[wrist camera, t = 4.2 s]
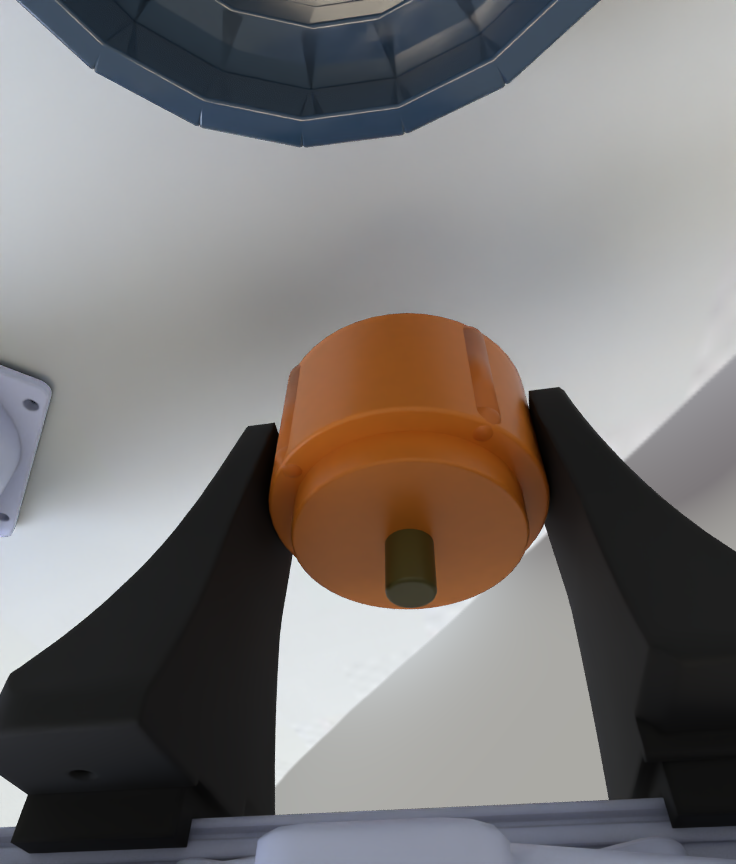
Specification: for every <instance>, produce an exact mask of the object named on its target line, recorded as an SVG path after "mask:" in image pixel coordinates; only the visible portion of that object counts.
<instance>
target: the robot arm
mask: <svg viewBox="0 0 736 864" xmlns="http://www.w3.org/2000/svg"><path fill="white" fill-rule="evenodd" d="M51 396H52V391H51V389H50V387H49V386H48V385H47V384H46V383H45V382H43V381H41V380H39V379H36V378H34V377H31V376H28V375H26V374H23V373H20V372H18V371H15V370H12V369H10V368H7V367H5V366H2V365H0V537H8V536H10V535H11V534H12V532H13V531H14V529H15V526H16V522H17V519H18V515H19V512H20V508H21V504H22V501H23V497H24V494H25V490H26V486H27V483H28V479H29V476H30V472H31V468H32V465H33V461H34V458H35V454H36V450H37V447H38V443H39V439H40V436H41V432H42V429H43V425H44V421H45V418H46V414H47V411H48V407H49V403H50V400H51ZM30 400H33V401H34V402H36V403H37V404H35V403H33V402H31V401H30ZM529 411H530V415H531V419H532V423H533V426H534V430H535V434H536V438H537V442H538V445H539V449H540V453H541V457H542V461H543V464H544V468H545V472H546V476H547V480H548V484H549V490H550V502H549V509H548V514H547V517H546V520H545V522H544V524H545V527H546V530H547V533H548V536H549V539H550V542H551V545H552V548H553V552H554V555H555V557H556V561H557V564H558V567H559V570H560V573H561V576H562V579H563V582H564V586H565V589H566V592H567V595H568V599H569V603H570V606H571V610H572V614H573V619H574V624H575V628H576V632H577V637H578V642H579V647H580V652H581V656H582V661H583V666H584V671H585V676H586V681H587V686H588V691H589V696H590V701H591V706H592V711H593V716H594V722H595V727H596V732H597V737H598V742H599V747H600V753H601V758H602V764H603V770H604V775H605V780H606V786H607V792H608V797H609V800H600V801H599V800H598V801H576V802H554V803H533V804H512V805H511V804H510V805H489V806H488V805H487V806H467V807H466V806H465V807H443V808H421V809H398V810H376V811H355V812H334V813H333V812H332V813H311V814H310V813H309V814H287V815H275V726H276V697H277V674H278V657H279V640H280V630H281V622H282V614H283V608H284V602H285V596H286V590H287V584H288V578H289V573H290V567H291V561H292V553H291V552H290V551H289V550H288V549H287V548H286V546H285V545H284V544H283V542H282V541H281V539H280V538H279V536H278V534H277V532H276V530H275V528H274V526H273V523H272V520H271V516H270V513H269V502H268V498H269V490H270V483H271V477H272V472H273V466H274V460H275V454H276V449H277V443H278V437H279V433H278V431H277V428H276V425H275V423H270V424H262V425H254V426H248V427H247V428H246V430H245V431H244V432H243V434H242V435H241V437H240V438H239V440H238V441H237V443H236V444H235V446H234V447H233V449H232V451H231V452H230V454H229V455H228V457H227V458H226V460H225V461H224V463H223V464H222V466H221V467H220V469H219V470H218V472H217V473H216V475H215V476H214V478H213V479H212V480H211V482H210V483H209V485H208V486H207V488H206V489H205V490H204V492H203V493H202V495H201V496H200V498H199V499H198V500H197V502H196V503H195V504H194V506H193V507H192V508H191V510H190V511H189V512H188V513H187V515H186V516H185V517H184V519H183V520H182V521H181V523H180V524H179V525H178V526H177V528H176V529H175V530H174V531H173V533H172V534H171V535H170V536H169V537H168V539H167V540H166V541H165V542H164V543H163V544H162V546H161V547H160V548H159V549H158V550H157V551H156V552H155V553H154V554H153V555H152V557H151V558H150V559H149V560H148V561H147V562H146V563H145V564H144V565H143V566H142V567H141V568H140V569H139V570H138V571H137V572H136V573H135V574H134V575H133V576H132V577H131V578H130V579H129V580H128V581H127V582H125V583H124V584H123V585H122V586H121V587H120V588H119V589H118V590H117V591H116V592H115V593H114V594H113V595H112V596H111V597H110V598H109V599H107V600H106V601H105V602H104V603H103V604H102V605H101V606H99V607H98V608H97V609H96V610H95V611H94V612H92V613H91V614H90V615H89V616H88V617H86V618H85V619H84V620H83V621H82V622H80V623H79V624H78V625H77V626H75V627H74V628H73V629H72V630H70V631H69V632H68V633H66V634H65V635H64V636H63V637H61V638H60V639H59V640H57V641H56V642H55V643H53V644H52V645H50V646H49V647H48V648H46V649H45V650H43V651H42V652H41V653H39V654H38V655H36V656H35V657H34V658H32V659H31V660H29V661H28V662H27V663H25V664H24V665H22V666H21V667H20V668H18V669H17V670H15V671H14V672H12V673H11V674H10V675H9V677H8V679H7V681H6V683H5V685H4V687H3V690H2V692H1V694H0V775H1V776H2V777H3V778H5V779H6V780H8V781H9V782H11V783H12V784H13V785H15V786H16V787H18V788H19V789H21V790H22V791H24V792H25V793H26V794H28V796H27V799H26V801H25V804H24V807H23V809H22V812H21V815H20V818H19V820H18V823H17V826H16V827H0V864H736V551H734V550H732V549H731V548H729V547H728V546H726V545H725V544H723V543H722V542H720V541H719V540H717V539H716V538H714V537H713V536H711V535H710V534H708V533H707V532H705V531H704V530H703V529H701V528H700V527H699V526H697V525H696V524H695V523H693V522H692V521H691V520H689V519H688V518H687V517H685V516H684V515H683V514H681V513H680V512H679V511H678V510H677V509H675V508H674V507H673V506H672V505H670V504H669V503H668V502H667V501H666V500H664V499H663V498H662V497H661V496H660V495H658V494H657V493H656V492H655V491H654V490H653V489H652V488H651V487H649V486H648V485H647V484H646V483H645V482H644V481H643V480H642V479H641V478H640V477H639V476H638V475H637V474H636V473H635V472H634V471H632V470H631V469H630V468H629V467H628V466H627V465H626V464H625V463H624V462H623V461H622V460H621V459H620V458H619V456H618V455H617V454H616V453H615V452H614V451H613V450H612V449H611V448H610V447H609V446H608V445H607V444H606V442H605V441H604V440H603V439H602V438H601V437H600V436H599V435H598V434H597V432H596V431H595V430H594V429H593V428H592V427H591V425H590V424H589V423H588V422H587V420H586V419H585V418H584V417H583V416H582V414H581V413H580V412H579V411H578V409H577V408H576V407H575V405H574V404H573V403H572V401H571V400H570V399H569V397H568V396H567V394H566V393H565V391H564V390H562V389H561V388H560V387H556V388H548V389H540V390H532V391H529Z"/></svg>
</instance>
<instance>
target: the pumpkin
mask: <svg viewBox="0 0 736 864" xmlns="http://www.w3.org/2000/svg"><path fill="white" fill-rule="evenodd" d="M268 502H269V513H270V516H271V520H272V523H273V526H274V528H275V530H276V532H277V534H278V536H279V538H280V539H281V541H282V542H283V544H284V545H285V546H286V548H287V549H288V550H289V551H290V552H291V553H292V554H293V555H294V556H295V557H296V558H297V560H298V562H299V563H300V565H301V566H302V567H303V569H304V570H305V571H306V572H307V573H308V574H309V575H310V577H311V578H313V579H314V580H315V581H316V582H318V583H319V584H320V585H321V586H323V587H325V588H326V589H328V590H329V591H331V592H333V593H335V594H337V595H339V596H341V597H344V598H347V599H349V600H352V601H355V602H359V603H362V604H366V605H371V606H376V607H382V608H391V609H423V608H432V607H439V606H444V605H449V604H453V603H456V602H460V601H463V600H466V599H469V598H471V597H474V596H476V595H478V594H480V593H483V592H485V591H486V590H488V589H490V588H491V587H493V586H495V585H496V584H498V583H499V582H500V581H502V580H503V579H504V578H505V577H506V576H508V575H509V574H510V573H511V572H512V571H513V569H514V568H515V567H516V566H517V564H518V563H519V562H520V560H521V558H522V556H523V555H524V553H525V551H526V550H527V549H528V548H529V547H530V545H531V544H532V543H533V541H534V540H535V539H536V538H537V536H538V534H539V533H540V531H541V529H542V527H543V525H544V522H545V520H546V517H547V514H548V509H549V502H550V490H549V484H548V480H547V476H546V472H545V468H544V464H543V461H542V457H541V453H540V449H539V445H538V442H537V438H536V434H535V430H534V426H533V423H532V419H531V415H530V411H529V407H528V404H527V400H526V396H525V392H524V388H523V385H522V381H521V378H520V376H519V374H518V371H517V369H516V367H515V366H514V364H513V363H512V361H511V360H510V358H509V357H508V356H507V355H506V353H505V352H504V351H503V350H502V349H501V348H500V347H499V346H498V345H497V344H495V343H494V342H493V341H492V340H490V339H489V338H488V337H487V336H485V335H483V334H482V333H481V332H480V331H479V330H478V329H476V328H474V327H471V326H467V325H464V324H462V323H460V322H457V321H454V320H451V319H447V318H444V317H440V316H434V315H428V314H415V313H400V314H387V315H382V316H376V317H371V318H368V319H365V320H361V321H358V322H355V323H353V324H350V325H348V326H346V327H343V328H341V329H339V330H338V331H336V332H334V333H333V334H331V335H329V336H328V337H326V338H325V339H324V340H322V341H321V342H320V343H318V344H317V345H316V346H315V347H314V348H313V349H312V350H311V351H310V352H309V353H308V354H307V355H306V356H305V357H304V358H303V359H302V361H301V362H300V364H299V365H297V366H296V367H294V368H293V370H292V371H291V373H290V375H289V380H288V385H287V391H286V397H285V403H284V408H283V414H282V420H281V426H280V431H279V437H278V443H277V449H276V454H275V460H274V466H273V472H272V477H271V483H270V490H269V498H268Z"/></svg>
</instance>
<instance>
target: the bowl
mask: <svg viewBox="0 0 736 864" xmlns="http://www.w3.org/2000/svg"><path fill="white" fill-rule="evenodd" d="M16 1H18V2H19V3H20V4H21V5H22V6H23V7H24V8H25V9H26V10H27V11H28V12H30V13H31V14H32V15H33V16H34V17H35V18H36V19H37V20H38V21H39V22H40V23H42V24H43V25H44V26H45V27H46V28H47V29H48V30H49V31H50V32H51V33H52V34H54V35H55V36H56V37H57V38H58V39H59V40H60V41H61V42H62V43H63V44H64V45H66V46H67V47H68V48H69V49H70V50H71V51H72V52H73V53H74V54H75V55H77V56H78V57H79V58H80V59H81V60H82V61H83V62H84V63H85V64H86V65H87V66H89V67H90V68H91V69H94V70H95V72H96V73H98V74H100V75H102V76H104V77H105V78H107V79H109V80H111V81H113V82H115V83H117V84H119V85H120V86H122V87H124V88H126V89H128V90H130V91H132V92H134V93H135V94H137V95H139V96H141V97H143V98H145V99H147V100H149V101H150V102H152V103H154V104H156V105H158V106H160V107H162V108H164V109H165V110H167V111H169V112H171V113H173V114H175V115H177V116H179V117H180V118H182V119H184V120H186V121H188V122H190V123H192V124H194V125H195V126H199V125H200V127H202V128H205V129H210V130H215V131H220V132H225V133H230V134H235V135H240V136H245V137H250V138H255V139H260V140H265V141H270V142H275V143H281V144H286V145H291V146H296V147H302V146H304V147H314V146H322V145H330V144H337V143H345V142H353V141H361V140H368V139H376V138H384V137H392V136H399V135H403V134H404V133H410V132H412V131H414V130H416V129H418V128H420V127H422V126H425V125H427V124H429V123H431V122H433V121H435V120H437V119H439V118H441V117H443V116H445V115H447V114H449V113H451V112H454V111H456V110H458V109H460V108H462V107H464V106H466V105H468V104H470V103H472V102H474V101H476V100H478V99H480V98H483V97H485V96H487V95H489V94H491V93H493V92H495V91H497V90H499V89H501V88H503V87H504V86H505V84H508V83H510V82H511V81H512V80H514V79H515V78H516V77H517V76H518V75H519V74H520V73H521V72H522V71H523V70H525V69H526V68H527V67H528V66H529V65H530V64H531V63H532V62H533V61H534V60H536V59H537V58H538V57H539V56H540V55H541V54H542V53H543V52H544V51H545V50H547V49H548V48H549V47H550V46H551V45H552V44H553V43H554V42H555V41H556V40H558V39H559V38H560V37H561V36H562V35H563V34H564V33H565V32H566V31H567V30H569V29H570V28H571V27H572V26H573V25H574V24H575V23H576V22H577V21H578V20H580V19H581V18H582V17H583V16H584V15H585V14H586V13H587V12H588V11H589V10H591V9H592V8H593V7H594V6H595V5H596V4H597V3H598V2H599V1H600V0H16Z"/></svg>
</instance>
